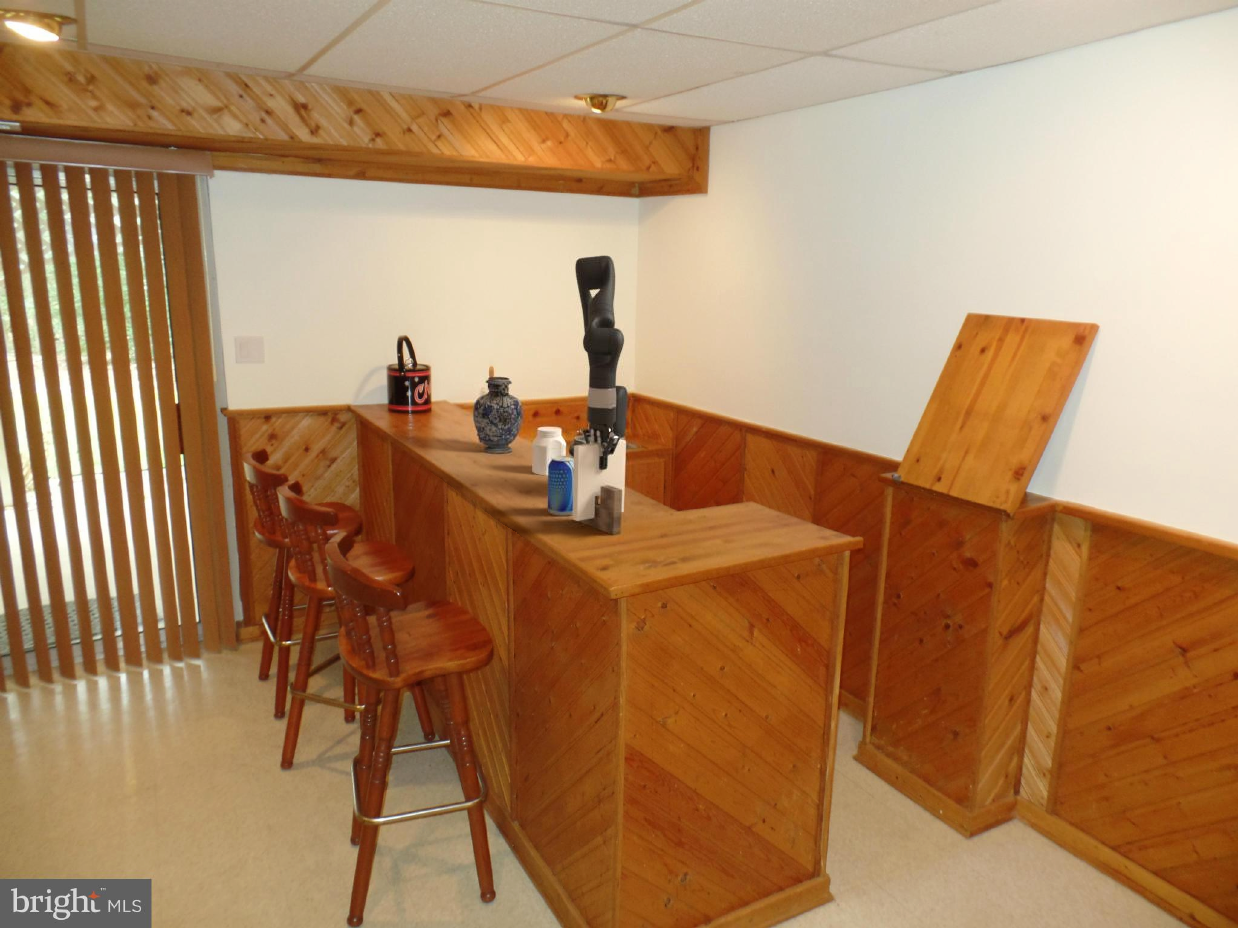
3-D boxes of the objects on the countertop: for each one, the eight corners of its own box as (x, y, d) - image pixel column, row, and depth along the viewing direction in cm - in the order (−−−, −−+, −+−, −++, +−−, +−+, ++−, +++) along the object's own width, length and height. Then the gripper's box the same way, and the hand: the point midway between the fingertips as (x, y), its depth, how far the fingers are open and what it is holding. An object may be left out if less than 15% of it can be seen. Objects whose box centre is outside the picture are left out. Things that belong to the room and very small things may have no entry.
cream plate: (577, 521, 224) (578, 447, 220) (572, 519, 226) (574, 445, 221) (623, 511, 234) (626, 440, 230) (619, 510, 236) (621, 439, 231)
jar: (557, 467, 299) (558, 425, 296) (570, 473, 291) (570, 430, 288) (527, 470, 293) (528, 427, 290) (539, 476, 285) (539, 432, 282)
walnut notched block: (577, 520, 236) (578, 478, 233) (584, 519, 237) (585, 477, 235) (613, 534, 224) (614, 491, 221) (620, 533, 225) (622, 489, 223)
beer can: (582, 511, 245) (583, 457, 241) (566, 518, 238) (567, 462, 234) (558, 506, 249) (559, 453, 245) (541, 513, 242) (542, 458, 238)
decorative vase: (466, 446, 328) (466, 374, 322) (512, 444, 336) (513, 374, 330) (481, 458, 309) (482, 381, 303) (529, 455, 317) (531, 381, 311)
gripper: (574, 401, 226) (573, 465, 230) (606, 409, 216) (604, 475, 219) (597, 400, 231) (595, 462, 235) (629, 407, 220) (627, 471, 224)
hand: (600, 468), depth 227 cm, fingers closed on cream plate, 2 cm apart
